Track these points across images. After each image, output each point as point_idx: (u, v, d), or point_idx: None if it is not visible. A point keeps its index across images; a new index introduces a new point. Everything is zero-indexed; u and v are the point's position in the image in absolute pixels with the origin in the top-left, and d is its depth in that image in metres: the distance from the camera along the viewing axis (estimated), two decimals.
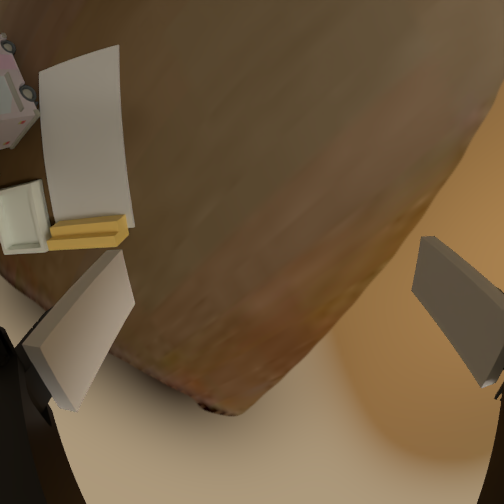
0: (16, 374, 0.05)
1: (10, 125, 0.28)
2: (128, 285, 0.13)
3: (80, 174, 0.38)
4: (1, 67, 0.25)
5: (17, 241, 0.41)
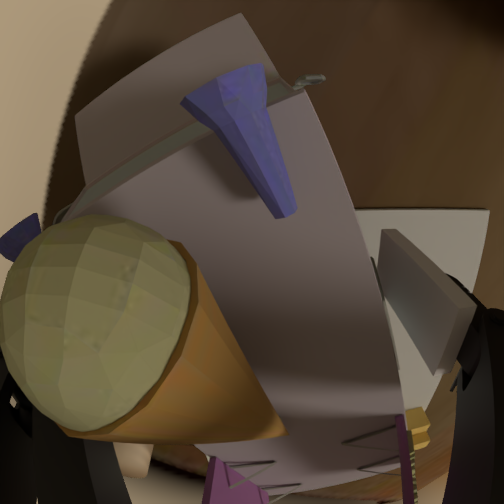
0: None
1: None
2: None
3: None
4: None
5: None
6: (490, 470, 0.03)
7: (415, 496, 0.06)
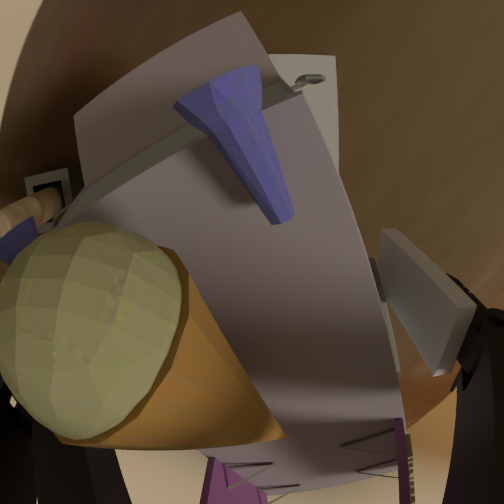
0: None
1: None
2: None
3: None
4: None
5: None
6: (490, 470, 0.03)
7: (412, 500, 0.06)
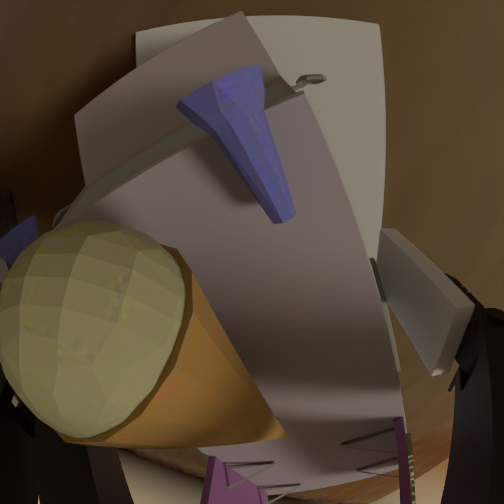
0: None
1: None
2: None
3: None
4: None
5: None
6: (488, 470, 0.03)
7: (413, 499, 0.06)
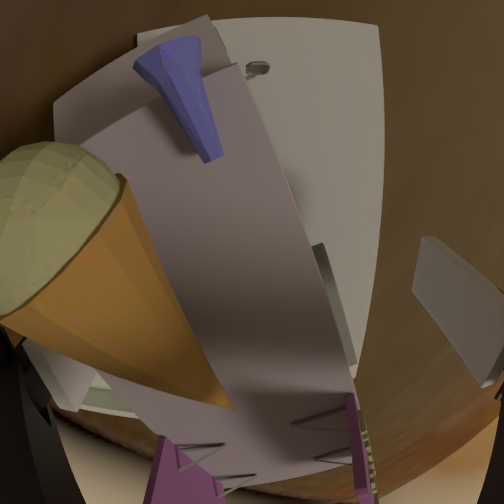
0: (16, 374, 0.05)
1: None
2: None
3: None
4: None
5: None
6: None
7: (371, 481, 0.07)
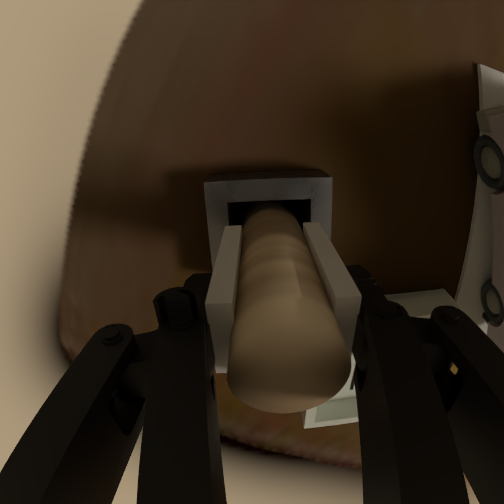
0: (201, 343, 0.07)
1: None
2: None
3: None
4: None
5: None
6: (397, 486, 0.03)
7: None
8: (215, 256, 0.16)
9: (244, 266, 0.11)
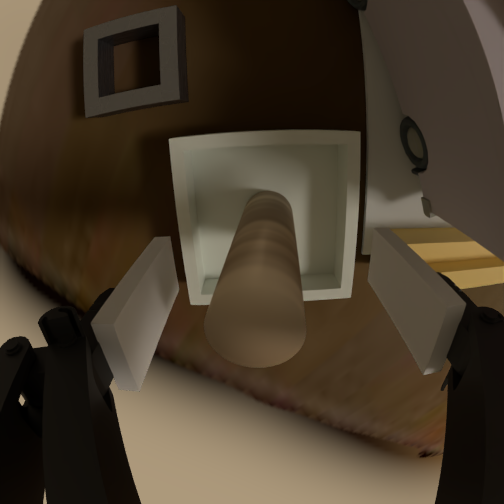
0: (84, 357, 0.06)
1: None
2: (174, 271, 0.14)
3: None
4: None
5: None
6: (482, 471, 0.03)
7: None
8: (86, 82, 0.15)
9: (232, 245, 0.13)
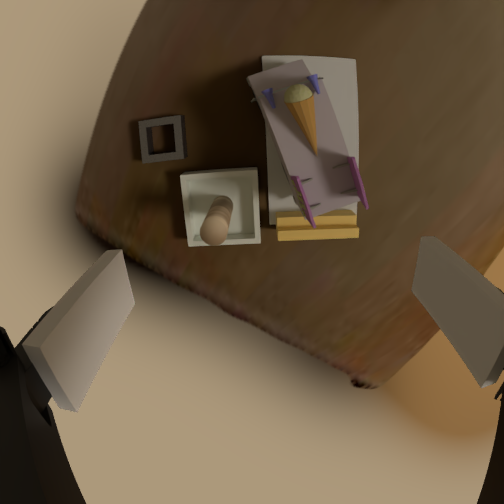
0: (16, 374, 0.05)
1: None
2: (128, 285, 0.13)
3: None
4: None
5: None
6: None
7: None
8: (142, 147, 0.41)
9: (207, 213, 0.39)
